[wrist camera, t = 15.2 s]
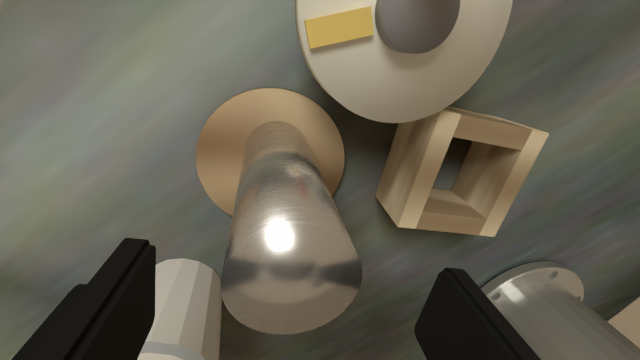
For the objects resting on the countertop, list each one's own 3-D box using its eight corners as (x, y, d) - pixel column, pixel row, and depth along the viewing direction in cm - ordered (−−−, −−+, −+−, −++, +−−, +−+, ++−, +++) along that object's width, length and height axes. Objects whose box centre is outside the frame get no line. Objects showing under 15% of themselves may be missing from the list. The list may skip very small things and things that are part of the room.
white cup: (235, 254, 21) (222, 343, 15) (226, 322, 24) (213, 422, 18) (128, 247, 20) (64, 344, 13) (132, 321, 22) (79, 431, 16)
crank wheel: (317, 133, 15) (360, 209, 8) (270, -96, 11) (278, -323, 4) (482, 93, 16) (651, 133, 9) (495, -138, 12) (825, -397, 5)
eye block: (458, 206, 23) (494, 236, 19) (375, 195, 21) (397, 227, 17) (498, 117, 20) (549, 133, 16) (407, 97, 18) (441, 110, 15)
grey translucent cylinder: (272, 191, 19) (282, 352, 9) (231, 147, 17) (187, 285, 7) (320, 156, 18) (385, 285, 9) (282, 107, 17) (309, 197, 7)
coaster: (325, 226, 21) (327, 231, 21) (194, 214, 19) (192, 219, 19) (358, 103, 18) (361, 105, 17) (202, 72, 16) (200, 73, 15)
